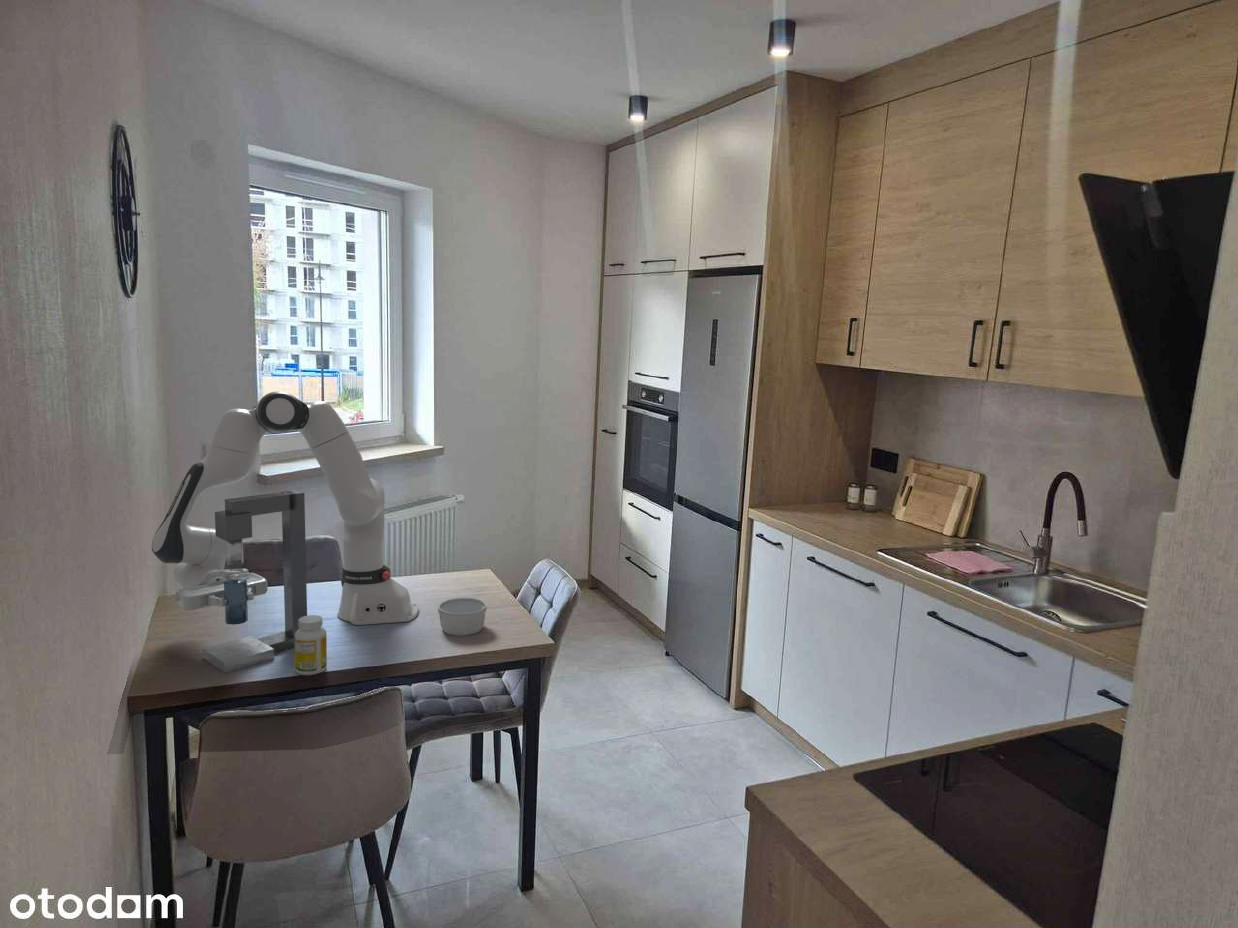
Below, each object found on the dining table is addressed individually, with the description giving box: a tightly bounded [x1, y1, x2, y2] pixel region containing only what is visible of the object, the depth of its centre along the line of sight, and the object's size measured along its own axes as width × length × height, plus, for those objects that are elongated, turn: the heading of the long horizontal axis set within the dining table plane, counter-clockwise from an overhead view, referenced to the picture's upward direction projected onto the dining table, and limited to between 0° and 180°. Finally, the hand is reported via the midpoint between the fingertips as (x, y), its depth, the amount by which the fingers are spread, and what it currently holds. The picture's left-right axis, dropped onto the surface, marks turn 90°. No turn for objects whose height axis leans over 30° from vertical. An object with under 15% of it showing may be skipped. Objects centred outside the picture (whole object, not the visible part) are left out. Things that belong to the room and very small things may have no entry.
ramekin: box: [437, 597, 487, 637], centre depth 218 cm, size 13×13×7 cm
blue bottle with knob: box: [224, 575, 249, 626], centre depth 190 cm, size 5×5×12 cm
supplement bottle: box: [294, 614, 328, 676], centre depth 188 cm, size 7×7×13 cm
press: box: [202, 489, 308, 674], centre depth 194 cm, size 23×12×40 cm, turn 140°
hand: (237, 600), depth 190 cm, fingers closed on blue bottle with knob, 5 cm apart
